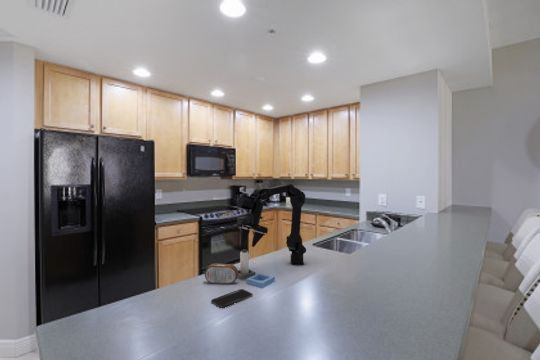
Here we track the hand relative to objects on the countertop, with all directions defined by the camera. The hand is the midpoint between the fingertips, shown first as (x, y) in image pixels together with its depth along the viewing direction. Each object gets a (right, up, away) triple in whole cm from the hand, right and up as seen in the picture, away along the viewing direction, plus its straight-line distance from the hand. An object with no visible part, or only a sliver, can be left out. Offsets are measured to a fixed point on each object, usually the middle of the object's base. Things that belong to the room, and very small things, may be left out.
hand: (247, 245), depth 123 cm
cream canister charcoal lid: (-1, -15, +1) cm, 15 cm away
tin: (-11, -16, -7) cm, 20 cm away
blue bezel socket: (+7, -15, -7) cm, 18 cm away
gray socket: (-1, -15, +1) cm, 15 cm away
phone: (-4, -16, -23) cm, 28 cm away
